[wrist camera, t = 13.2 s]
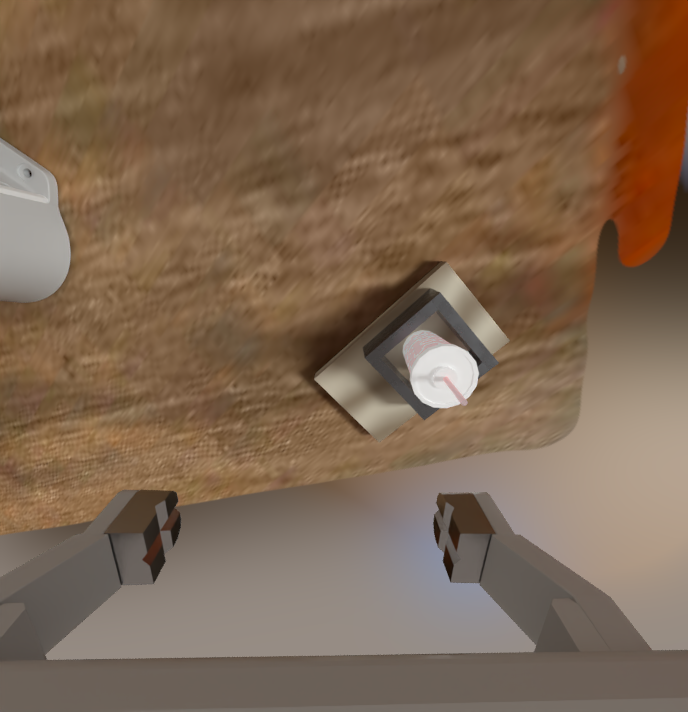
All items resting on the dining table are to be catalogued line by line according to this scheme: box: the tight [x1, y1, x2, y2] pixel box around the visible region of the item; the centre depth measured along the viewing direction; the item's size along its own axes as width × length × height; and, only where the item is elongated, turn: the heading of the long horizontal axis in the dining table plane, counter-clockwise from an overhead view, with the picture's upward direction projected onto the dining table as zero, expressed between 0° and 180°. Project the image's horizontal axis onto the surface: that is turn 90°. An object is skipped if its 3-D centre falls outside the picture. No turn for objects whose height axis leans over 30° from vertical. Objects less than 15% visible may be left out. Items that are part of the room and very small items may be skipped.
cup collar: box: [363, 288, 498, 420], centre depth 36 cm, size 10×10×4 cm
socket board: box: [314, 261, 509, 442], centre depth 39 cm, size 12×20×2 cm, turn 133°
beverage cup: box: [403, 330, 479, 408], centre depth 31 cm, size 6×6×14 cm
